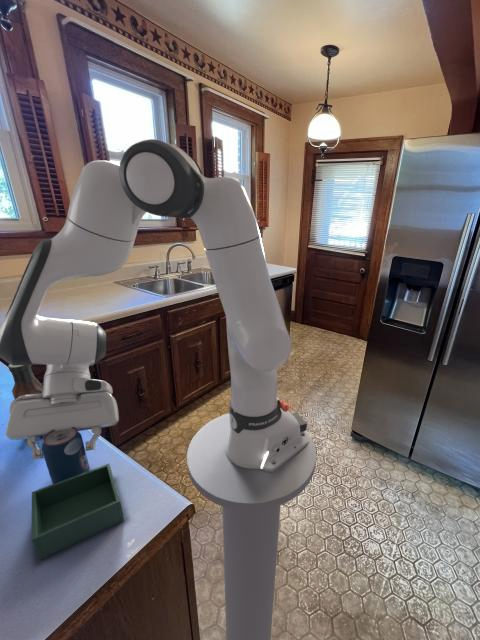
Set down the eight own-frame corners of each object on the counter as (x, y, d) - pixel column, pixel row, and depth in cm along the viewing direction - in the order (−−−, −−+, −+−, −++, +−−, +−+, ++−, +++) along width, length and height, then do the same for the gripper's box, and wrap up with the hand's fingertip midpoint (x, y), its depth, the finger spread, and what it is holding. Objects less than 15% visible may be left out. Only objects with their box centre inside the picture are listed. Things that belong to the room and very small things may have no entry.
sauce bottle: (62, 425, 84) (44, 360, 76) (40, 441, 78) (18, 371, 70) (42, 421, 85) (22, 355, 77) (20, 435, 79) (-4, 367, 71)
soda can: (96, 477, 69) (85, 434, 64) (60, 497, 64) (45, 452, 59) (83, 461, 73) (72, 419, 68) (48, 479, 68) (34, 435, 63)
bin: (113, 480, 68) (109, 463, 66) (124, 520, 60) (120, 501, 58) (38, 510, 61) (31, 492, 59) (39, 560, 53) (31, 540, 51)
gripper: (3, 393, 64) (-5, 464, 59) (114, 381, 70) (115, 444, 66) (18, 399, 69) (12, 465, 65) (119, 387, 76) (120, 446, 71)
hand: (64, 454), depth 65 cm, fingers open, 8 cm apart
